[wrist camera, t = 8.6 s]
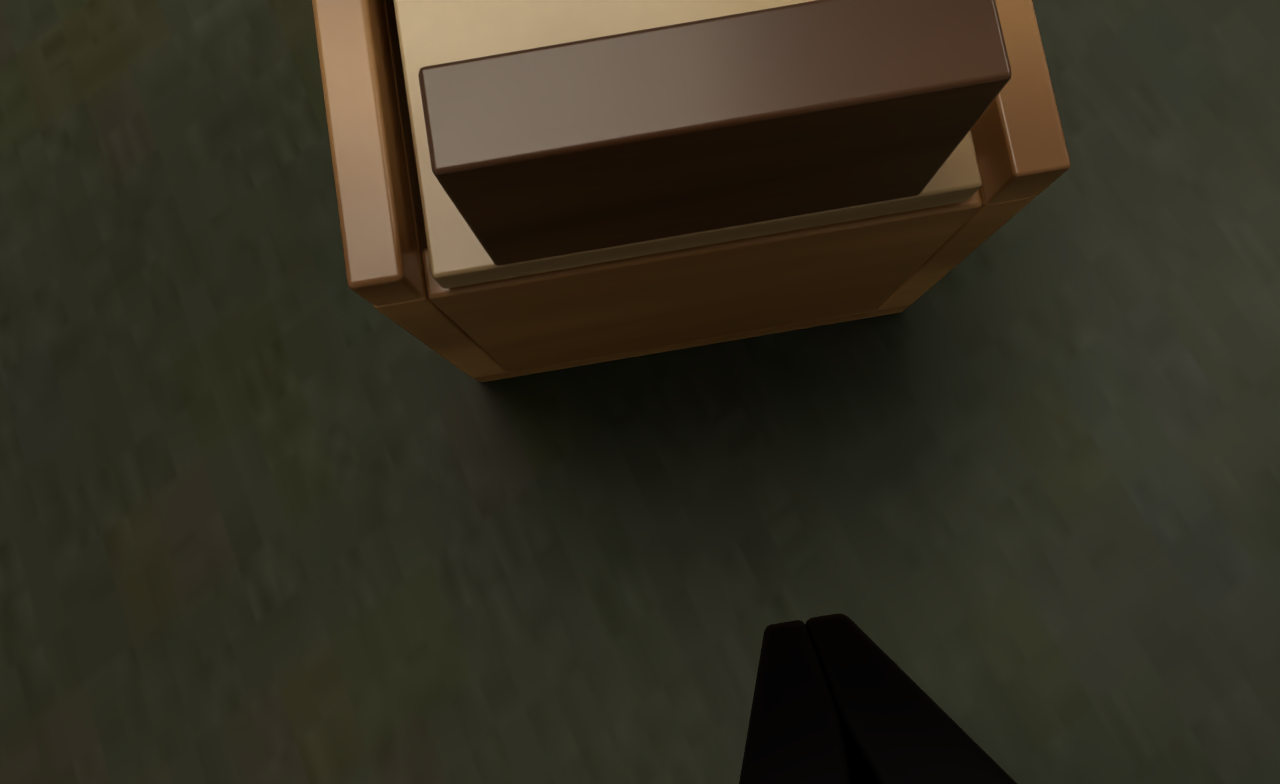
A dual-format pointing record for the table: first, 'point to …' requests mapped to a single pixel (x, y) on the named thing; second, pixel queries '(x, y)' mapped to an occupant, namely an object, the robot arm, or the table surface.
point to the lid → (683, 121)
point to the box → (663, 282)
